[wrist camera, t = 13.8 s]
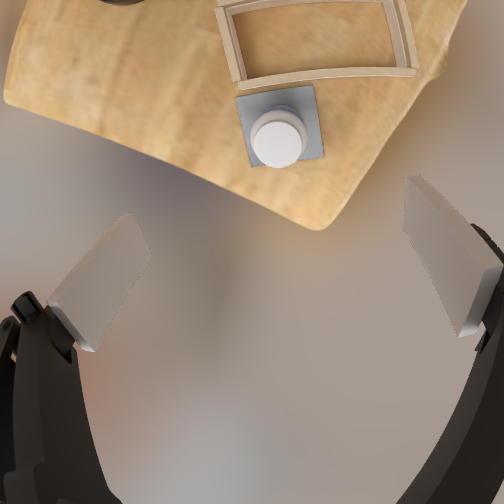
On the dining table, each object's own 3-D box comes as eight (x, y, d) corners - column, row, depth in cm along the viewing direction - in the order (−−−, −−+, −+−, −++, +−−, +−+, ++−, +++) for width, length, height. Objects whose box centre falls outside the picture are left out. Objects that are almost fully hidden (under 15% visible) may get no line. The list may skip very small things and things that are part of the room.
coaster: (236, 97, 33) (235, 97, 32) (312, 85, 31) (312, 85, 30) (251, 166, 38) (251, 167, 38) (323, 156, 36) (324, 157, 35)
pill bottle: (267, 97, 32) (259, 103, 23) (311, 116, 32) (321, 130, 23) (250, 137, 35) (235, 160, 26) (292, 155, 36) (294, 184, 27)
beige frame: (220, 10, 25) (211, 0, 21) (388, -4, 21) (401, -13, 17) (240, 90, 32) (233, 92, 28) (405, 76, 27) (421, 77, 23)
